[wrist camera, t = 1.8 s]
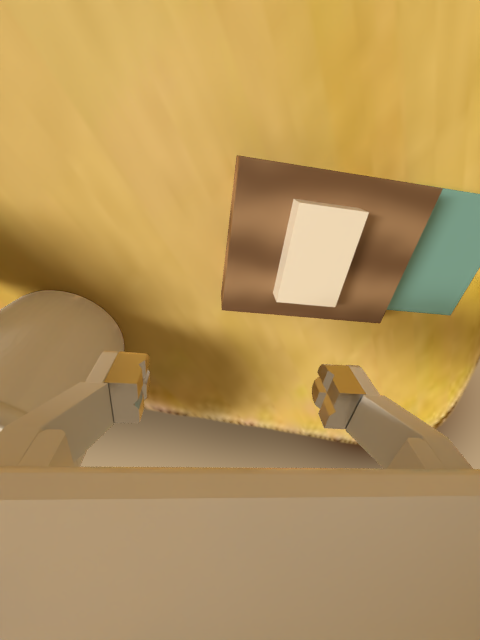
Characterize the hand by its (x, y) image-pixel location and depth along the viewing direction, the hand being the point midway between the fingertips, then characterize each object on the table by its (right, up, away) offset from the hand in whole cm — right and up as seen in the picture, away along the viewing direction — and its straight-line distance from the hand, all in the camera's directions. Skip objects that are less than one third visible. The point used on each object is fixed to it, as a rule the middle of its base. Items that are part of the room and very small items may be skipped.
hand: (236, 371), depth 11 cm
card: (+7, +8, +16) cm, 19 cm away
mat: (+23, +9, +21) cm, 32 cm away
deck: (+8, +10, +19) cm, 23 cm away
